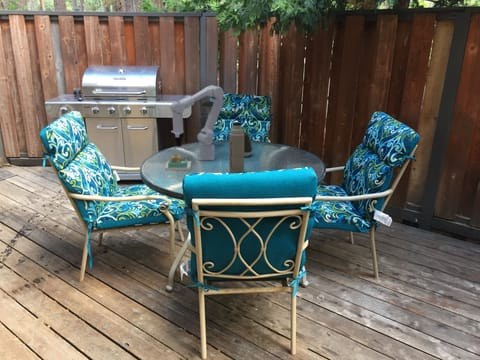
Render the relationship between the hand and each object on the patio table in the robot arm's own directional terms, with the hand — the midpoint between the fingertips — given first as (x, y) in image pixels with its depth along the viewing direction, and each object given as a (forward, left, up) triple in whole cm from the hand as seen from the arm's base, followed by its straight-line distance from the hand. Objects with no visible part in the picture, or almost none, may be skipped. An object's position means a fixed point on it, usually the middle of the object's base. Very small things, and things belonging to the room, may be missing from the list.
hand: (179, 146), depth 239 cm
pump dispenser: (-39, -13, -10) cm, 42 cm away
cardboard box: (+1, +10, -8) cm, 13 cm away
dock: (0, +8, -10) cm, 13 cm away
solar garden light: (-18, -34, -10) cm, 40 cm away
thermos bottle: (-33, +20, -10) cm, 40 cm away
